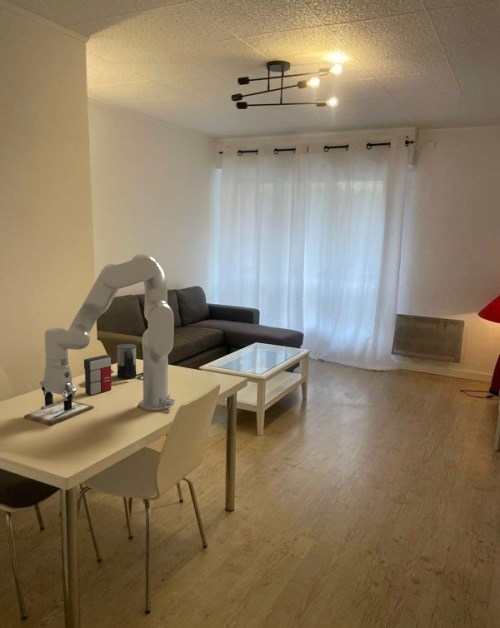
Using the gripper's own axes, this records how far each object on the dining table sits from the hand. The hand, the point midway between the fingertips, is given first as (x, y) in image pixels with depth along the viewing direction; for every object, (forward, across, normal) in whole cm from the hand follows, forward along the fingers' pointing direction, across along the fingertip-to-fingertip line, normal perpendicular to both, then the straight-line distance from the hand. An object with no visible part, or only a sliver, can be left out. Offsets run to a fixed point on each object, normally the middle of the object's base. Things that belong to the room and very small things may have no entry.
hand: (58, 407), depth 176 cm
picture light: (+2, 0, 0) cm, 2 cm away
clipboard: (+3, +2, -2) cm, 4 cm away
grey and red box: (+3, +6, -27) cm, 28 cm away
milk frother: (+3, +8, -53) cm, 53 cm away
